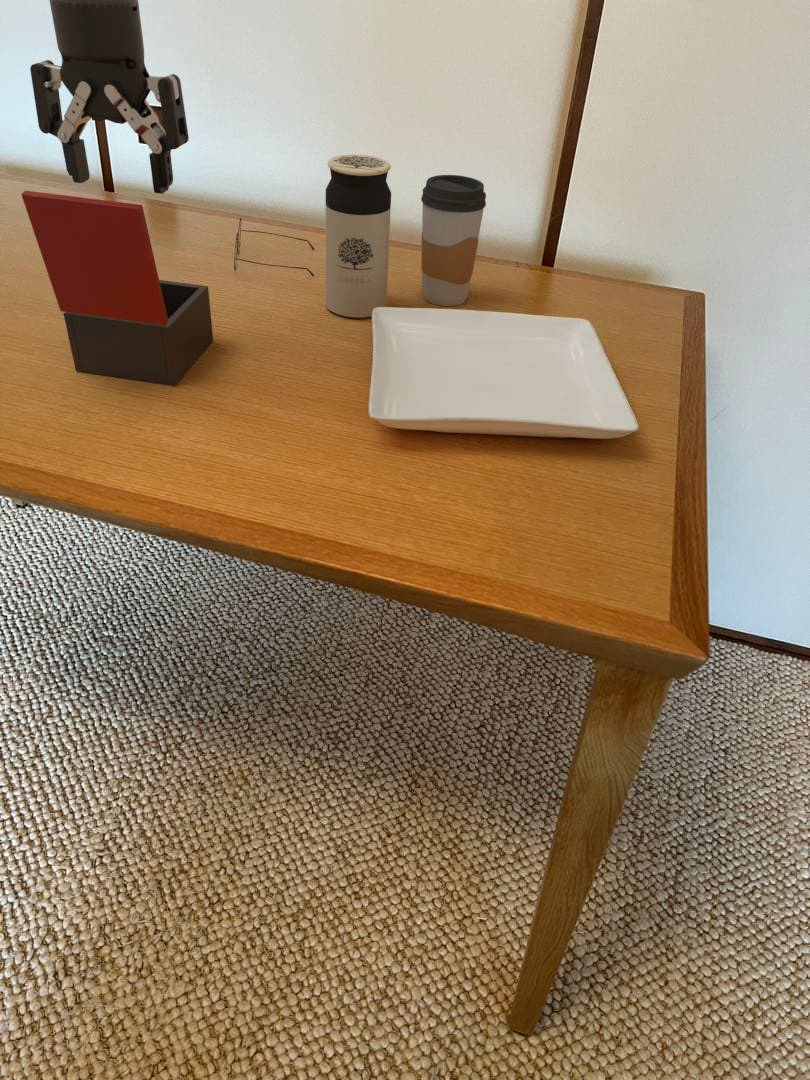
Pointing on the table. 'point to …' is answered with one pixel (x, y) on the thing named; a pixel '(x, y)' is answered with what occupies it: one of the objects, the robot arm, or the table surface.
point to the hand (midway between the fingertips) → (122, 186)
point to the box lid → (97, 256)
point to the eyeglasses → (260, 263)
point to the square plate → (494, 375)
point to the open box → (145, 339)
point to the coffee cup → (450, 236)
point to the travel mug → (357, 235)
